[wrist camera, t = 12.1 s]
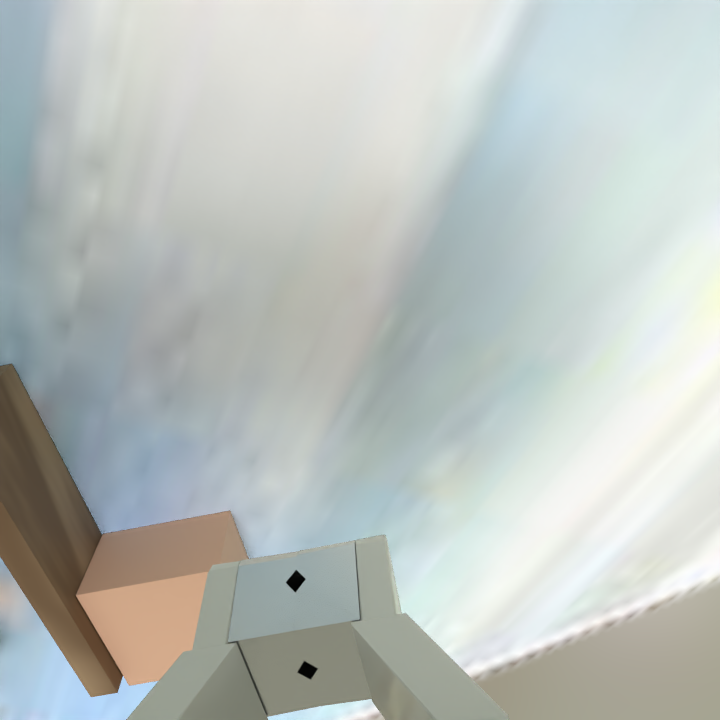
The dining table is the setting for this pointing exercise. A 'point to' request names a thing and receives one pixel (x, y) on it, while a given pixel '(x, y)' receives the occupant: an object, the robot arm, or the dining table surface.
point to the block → (155, 589)
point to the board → (48, 535)
